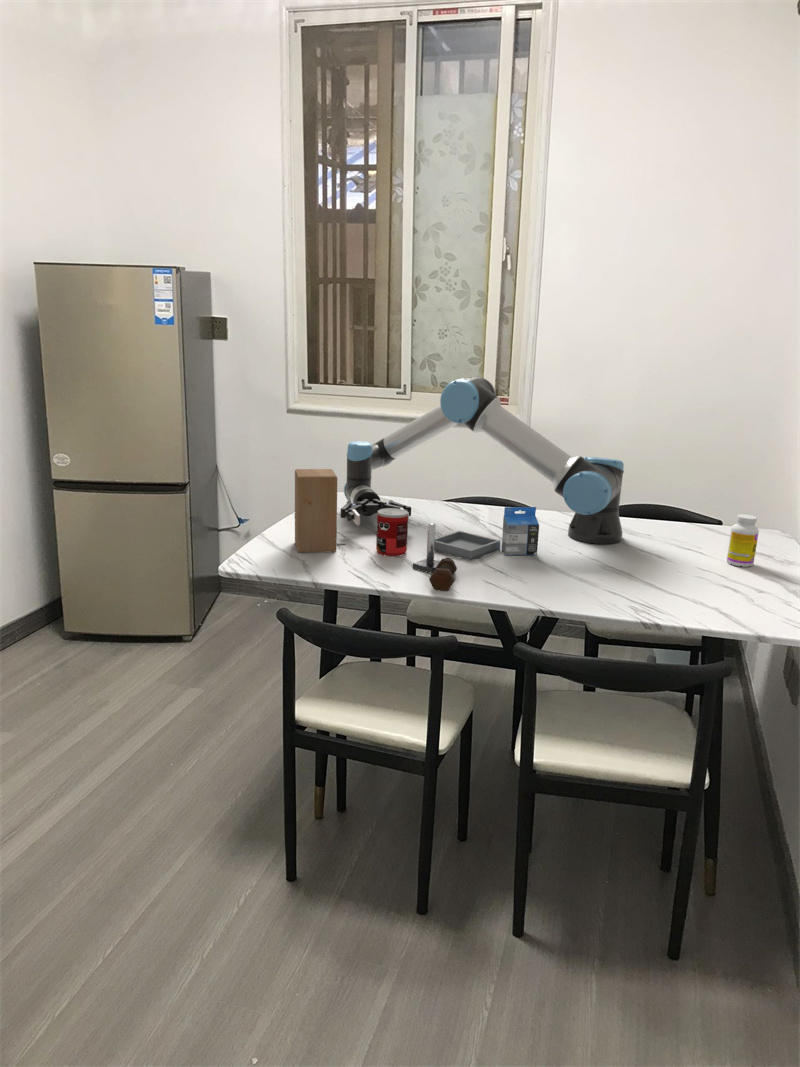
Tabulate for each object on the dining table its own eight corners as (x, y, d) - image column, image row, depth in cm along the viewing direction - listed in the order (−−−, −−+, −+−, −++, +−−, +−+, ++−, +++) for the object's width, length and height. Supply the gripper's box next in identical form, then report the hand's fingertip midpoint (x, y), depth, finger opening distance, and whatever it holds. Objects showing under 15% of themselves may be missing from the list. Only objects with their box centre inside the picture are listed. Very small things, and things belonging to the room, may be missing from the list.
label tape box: (504, 556, 207) (508, 510, 203) (500, 551, 211) (504, 506, 207) (537, 555, 208) (541, 510, 205) (532, 551, 212) (536, 506, 209)
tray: (499, 549, 212) (500, 540, 211) (470, 560, 201) (471, 551, 201) (458, 539, 220) (459, 530, 219) (428, 549, 210) (429, 540, 209)
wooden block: (297, 553, 202) (297, 476, 197) (294, 542, 212) (294, 468, 206) (336, 552, 204) (337, 476, 199) (331, 541, 214) (332, 468, 208)
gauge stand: (446, 568, 195) (449, 524, 192) (432, 573, 191) (434, 528, 188) (427, 562, 199) (429, 519, 196) (412, 567, 194) (414, 523, 191)
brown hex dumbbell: (450, 578, 194) (443, 597, 179) (433, 566, 194) (425, 584, 179) (463, 559, 192) (457, 576, 178) (446, 547, 192) (439, 564, 178)
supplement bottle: (753, 569, 203) (761, 521, 200) (726, 565, 206) (733, 517, 202) (752, 562, 209) (760, 515, 206) (725, 558, 212) (732, 512, 208)
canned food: (374, 548, 209) (376, 507, 206) (404, 548, 210) (406, 508, 207) (377, 556, 202) (378, 515, 199) (408, 556, 203) (410, 515, 200)
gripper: (405, 512, 237) (426, 531, 218) (323, 514, 231) (337, 534, 211) (406, 487, 235) (427, 504, 216) (323, 489, 229) (337, 507, 209)
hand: (383, 519), depth 213 cm, fingers open, 13 cm apart
